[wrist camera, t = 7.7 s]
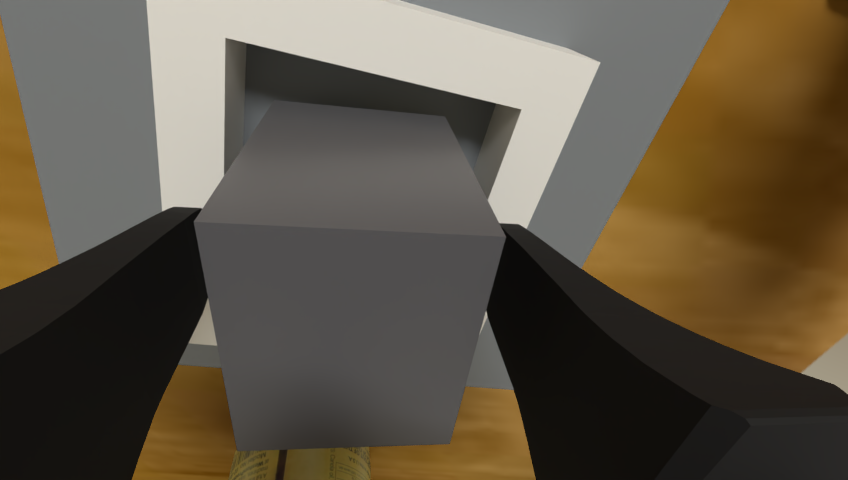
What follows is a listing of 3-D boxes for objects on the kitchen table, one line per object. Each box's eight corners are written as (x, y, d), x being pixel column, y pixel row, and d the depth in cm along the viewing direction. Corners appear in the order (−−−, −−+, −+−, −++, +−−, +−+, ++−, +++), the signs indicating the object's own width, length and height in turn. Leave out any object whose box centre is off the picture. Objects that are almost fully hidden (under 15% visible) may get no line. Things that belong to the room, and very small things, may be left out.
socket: (727, -53, 12) (828, -57, 9) (506, 369, 21) (526, 428, 19) (-39, -348, 8) (-240, -503, 5) (97, 334, 17) (48, 402, 14)
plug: (438, 103, 12) (505, 237, 6) (417, 255, 15) (449, 444, 9) (282, 88, 12) (194, 222, 6) (290, 249, 15) (237, 451, 9)
